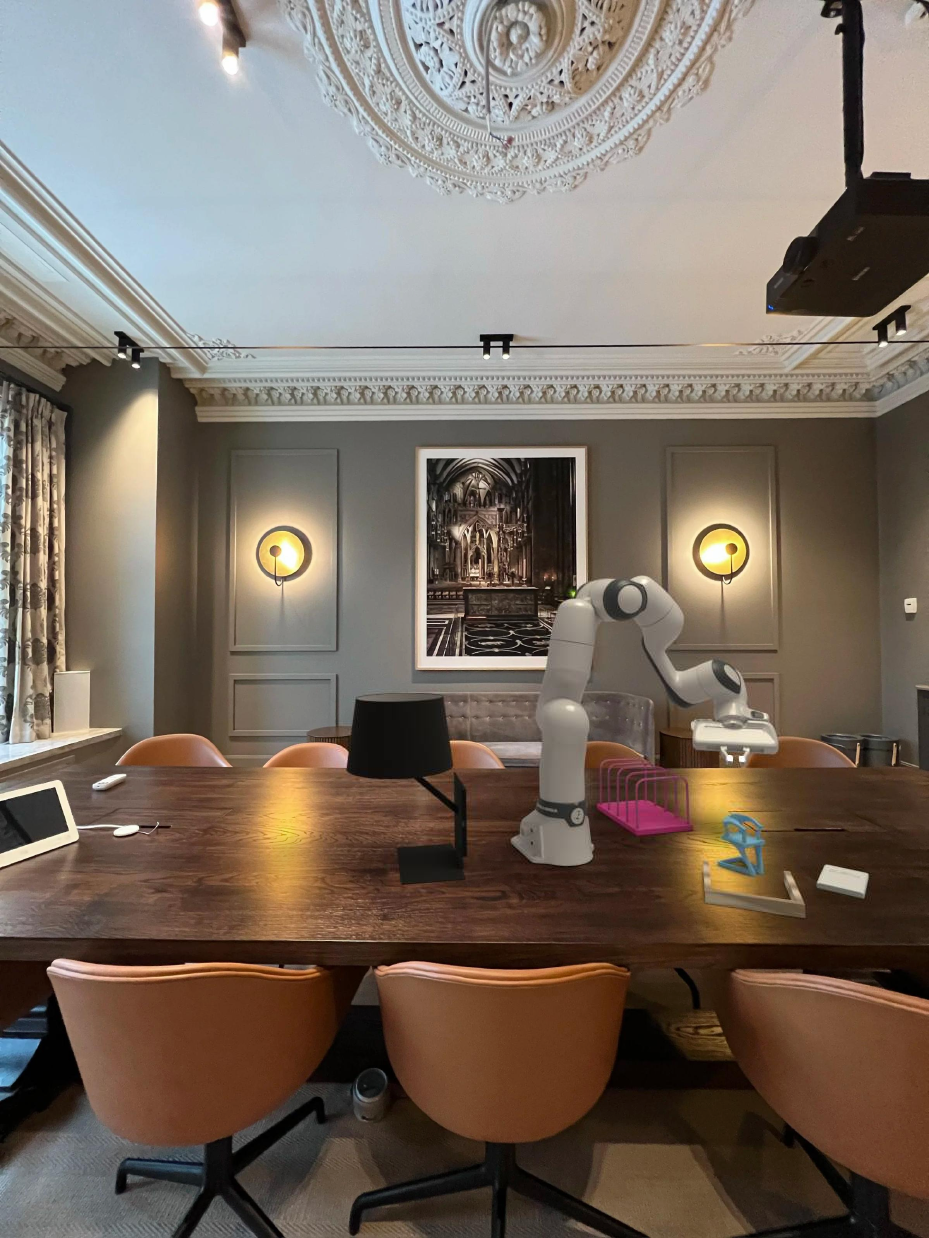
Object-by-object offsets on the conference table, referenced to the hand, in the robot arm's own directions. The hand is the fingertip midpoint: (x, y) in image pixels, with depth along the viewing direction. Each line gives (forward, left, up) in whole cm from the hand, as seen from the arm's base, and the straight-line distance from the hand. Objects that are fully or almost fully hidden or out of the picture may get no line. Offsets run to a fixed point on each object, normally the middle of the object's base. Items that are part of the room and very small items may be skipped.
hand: (736, 764), depth 140 cm
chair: (+8, -10, -22) cm, 25 cm away
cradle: (+16, -20, -21) cm, 33 cm away
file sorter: (-30, -3, -22) cm, 37 cm away
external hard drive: (+23, +2, -22) cm, 32 cm away
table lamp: (-33, -77, -22) cm, 86 cm away
